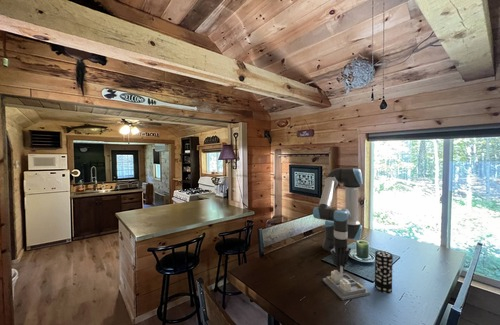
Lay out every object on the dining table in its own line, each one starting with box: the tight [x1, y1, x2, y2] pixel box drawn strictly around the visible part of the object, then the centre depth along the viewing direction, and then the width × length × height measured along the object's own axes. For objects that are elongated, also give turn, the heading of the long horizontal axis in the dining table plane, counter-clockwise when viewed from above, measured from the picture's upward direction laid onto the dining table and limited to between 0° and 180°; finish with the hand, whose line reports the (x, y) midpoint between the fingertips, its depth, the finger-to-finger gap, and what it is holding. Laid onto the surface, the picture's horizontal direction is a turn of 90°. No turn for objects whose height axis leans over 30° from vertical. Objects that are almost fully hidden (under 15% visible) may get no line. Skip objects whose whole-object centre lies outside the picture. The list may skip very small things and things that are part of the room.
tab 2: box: [340, 279, 351, 292], centre depth 119 cm, size 4×4×6 cm
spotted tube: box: [374, 250, 394, 294], centre depth 122 cm, size 8×8×20 cm
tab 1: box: [330, 269, 341, 282], centre depth 128 cm, size 4×4×6 cm
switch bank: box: [322, 273, 371, 301], centre depth 124 cm, size 17×18×3 cm
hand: (340, 276), depth 128 cm, fingers closed
